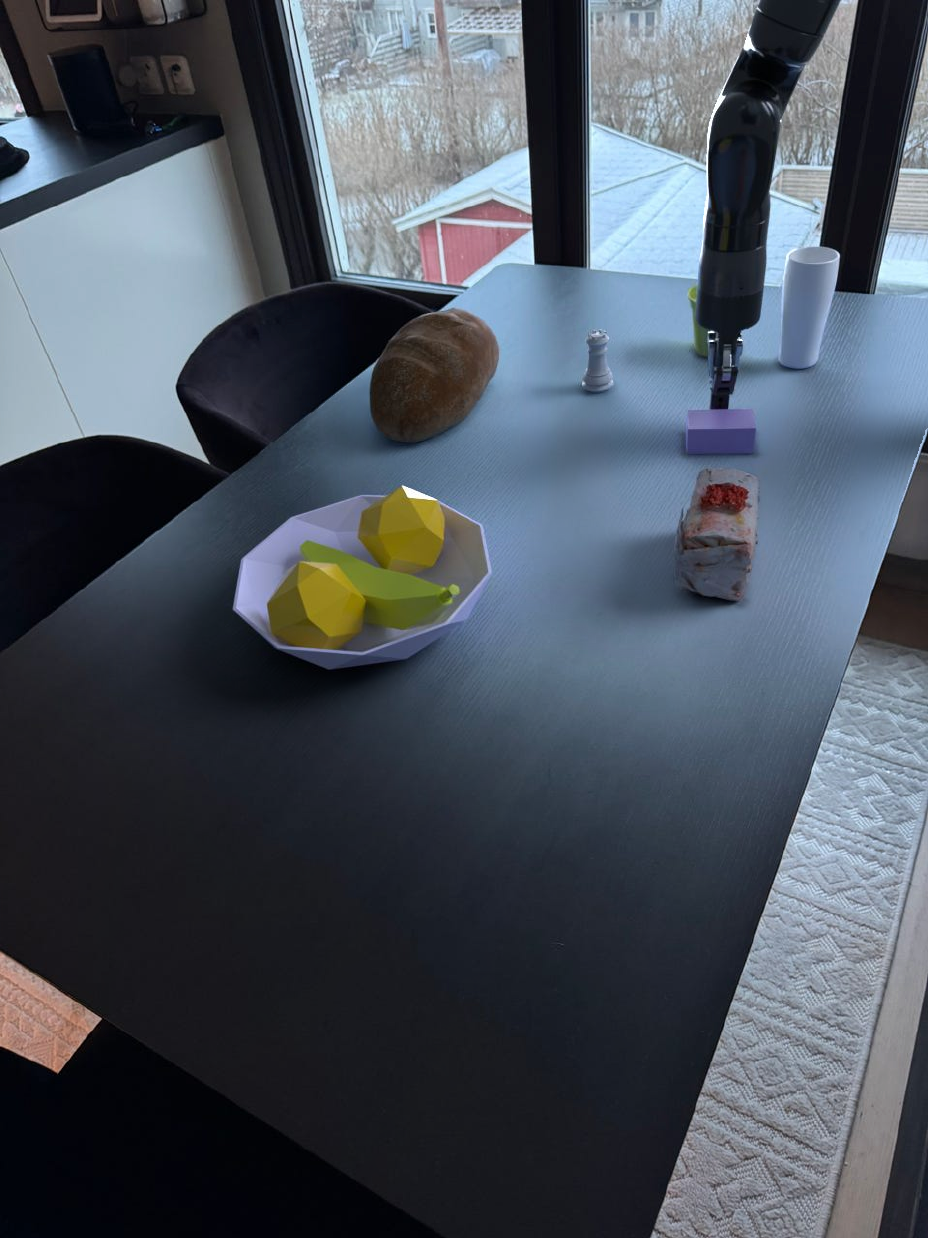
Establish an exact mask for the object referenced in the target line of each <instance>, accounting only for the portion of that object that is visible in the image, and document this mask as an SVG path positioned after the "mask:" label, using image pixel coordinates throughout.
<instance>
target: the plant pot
mask: <svg viewBox="0 0 928 1238" xmlns="http://www.w3.org/2000/svg"><path fill="white" fill-rule="evenodd" d="M696 295H697V283H696V284H694V285H692V286H691V287H689V288H688V290H687V292H686V296H687V299H688V300H689V305H690V309H691V315H692V318H691V319H692V331H693V332H692V333H693V343H694V345H693V348H694V350H695V351H696V352H697V354H698V355H700V356H702V357H705V358H708V355H709V353H708V342H707V341H708V332H711V331H712V330H707V329H704V328H702V327H701V326H699V325H698V324H697V322H696V320H695V309H696Z"/></svg>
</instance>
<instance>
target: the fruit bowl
mask: <svg viewBox="0 0 928 1238" xmlns="http://www.w3.org/2000/svg"><path fill="white" fill-rule="evenodd" d="M492 574H493V571H492V565H491V561H490V555H489V550H488V545H487V540H486V535H485V530H484V525H483V524H482V523H480V522H478V521H477V520H474V519H473V518H471V517H470V516H467V515H466V514H463V513H462V512H460V511H458V510H456V509H455V508H453V507H451V506H449V505H447V504H445V503H443V502H442V501H440V500H438V499H436V498H435V497H433V496H429V495H426V494H425V493H421V492H420V491H417V490H415V489H413V488H410V487H407V486H404V485H401V486H399V487H397V488H396V489H394V490H393V491H391V492H390V493H388V494H386V495H379V494H377V495H376V494H360V495H357V496H353V497H350V498H348V499H344V500H341V501H337V502H335V503H332V504H328V505H325V506H322V507H318V508H316V509H313V510H309V511H307V512H303V513H300V514H296V515H294V516H291V517H289V518H288V519H287V520H286V521H285V522H283V523H282V524H281V525H280V526H279V527H277V528H276V529H275V530H274V531H273V532H272V533H270V534H269V535H268V536H266V538H265V539H263V540H262V541H261V542H260V543H258V544H257V545H256V546H255V547H254V548H253V549H252V550H250V551H249V552H248V553H246V555H244V556H243V557H242V558H241V559H240V564H239V570H238V576H237V581H236V588H235V593H234V599H233V605H232V611H234V612H235V613H236V614H237V615H238V616H239V617H241V618H242V620H243V621H244V622H246V623H247V624H248V625H249V626H250V627H251V628H252V629H254V630H255V632H257V633H258V634H259V635H260V636H261V637H262V638H263V639H264V640H266V641H267V642H268V643H269V645H271V646H272V647H273V648H274V649H276V650H277V651H281V652H283V653H286V654H288V655H291V656H293V657H296V658H299V659H301V660H304V661H306V662H308V663H311V664H313V665H316V666H318V667H322V668H324V669H326V670H330V671H331V670H338V669H344V668H352V667H358V666H366V665H373V664H379V663H388V662H395V661H401V660H407V659H409V658H411V657H412V656H413V655H415V654H416V653H418V652H420V651H421V650H422V649H424V648H426V647H427V646H428V645H431V644H432V643H434V642H435V641H437V640H438V639H439V638H441V637H443V636H444V635H446V634H447V633H449V632H450V631H452V630H454V629H455V628H456V627H458V626H459V625H461V624H463V623H464V622H466V621H467V620H468V618H469V617H470V615H471V614H472V611H473V609H474V607H475V605H476V603H478V600H479V598H480V597H481V594H482V593H483V591H484V589H485V587H486V585H487V583H488V581H489V579H490V577H491V576H492Z"/></svg>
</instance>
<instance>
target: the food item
mask: <svg viewBox="0 0 928 1238" xmlns="http://www.w3.org/2000/svg"><path fill="white" fill-rule="evenodd" d="M759 481H760V479H759V478H758V477H756V476H754V475H753V474H751V473H749V472H746V471H743V470H739V469H734V468H729V467H726V468H725V467H724V468H719V467H718V468H717V467H715V468H704V469H701V470H699V472H698V475H697V477H696V481H695V482H696V483H695V486H694V489H693V492H692V495H691V498H690V504H689V507H688V509H686V513H685V516H684V507H682V508H681V510H680V516H679V520H678V523H677V528H676V533H675V539H674V548H673V557H674V562H673V575H674V576H673V577H674V585H675V587H676V588H677V590H678V591H680V590H682V591H683V592H691V593H695V594H700V595H701V596H705V597H714V598H718V599H724V600H727V601H733V602H741V599H742V598H744V595H745V592H746V590H747V588H748V585H749V581H750V578H751V574H752V570H753V566H754V559H755V553H756V546H757V545H758V544H759V540H758V539H757V537H758V522H759V521H758V519H759V517H758V513H759V510H758V509H759V503H760V502H761V492H760V487H759Z"/></svg>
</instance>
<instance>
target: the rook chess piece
mask: <svg viewBox="0 0 928 1238" xmlns="http://www.w3.org/2000/svg"><path fill="white" fill-rule="evenodd" d="M609 341H610V337H609V336H608V335H607V331H606V330H604V329H602V328H601V329H598V332H597V329H592V331H591V330H590V331H588V333H587V337H586V338H585V343H586V344H587V345H588V348H587V353H588V362H587V366H586V369H585V372H584V373H583V374H582V384H581V386H582V388H583V389H584V390H585V391H587V392H588V393H593V394H600V393H604V392H607V391H609V390H610V389H611V388H612V387H613V386H614V381H613V377H614V376H613V375H614V374H613V373H612V372H611V371H610V370H611V369H610V368H609V365H608V360H607V352H608V347H607V344H608V343H609Z"/></svg>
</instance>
